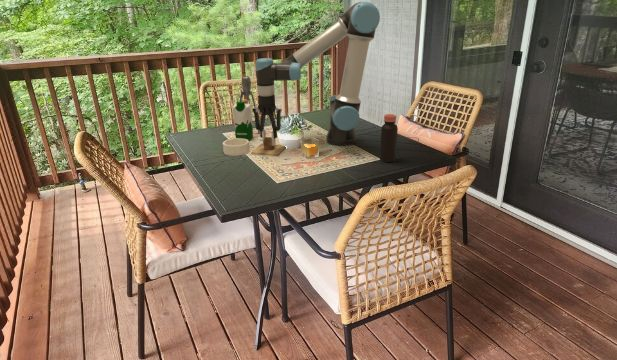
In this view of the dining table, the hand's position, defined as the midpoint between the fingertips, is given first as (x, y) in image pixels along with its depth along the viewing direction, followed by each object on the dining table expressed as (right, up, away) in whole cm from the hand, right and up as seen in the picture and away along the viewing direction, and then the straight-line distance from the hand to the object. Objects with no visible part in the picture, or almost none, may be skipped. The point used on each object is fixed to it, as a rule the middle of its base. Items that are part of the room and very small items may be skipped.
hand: (269, 144), depth 195 cm
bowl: (-16, -4, +2) cm, 16 cm away
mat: (0, -3, +1) cm, 4 cm away
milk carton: (-14, +4, +19) cm, 25 cm away
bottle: (+53, -8, -12) cm, 55 cm away
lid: (0, -3, +1) cm, 3 cm away
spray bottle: (-13, +10, +33) cm, 37 cm away
